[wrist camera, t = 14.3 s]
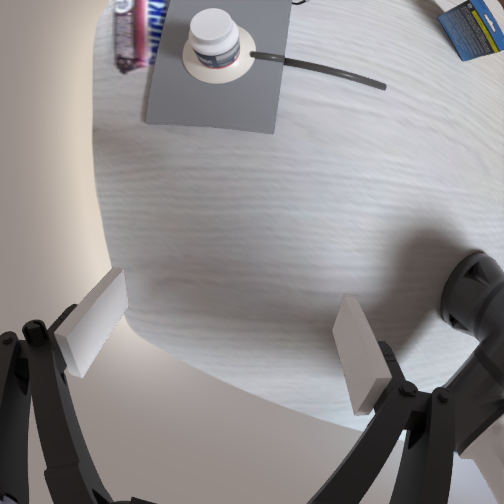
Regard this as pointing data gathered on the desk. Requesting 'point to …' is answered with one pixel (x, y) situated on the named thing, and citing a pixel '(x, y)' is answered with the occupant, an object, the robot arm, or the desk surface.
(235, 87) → the board
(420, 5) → the desk surface
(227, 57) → the pill bottle
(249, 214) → the desk surface
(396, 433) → the robot arm
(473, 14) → the label tape cartridge
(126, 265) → the desk surface
